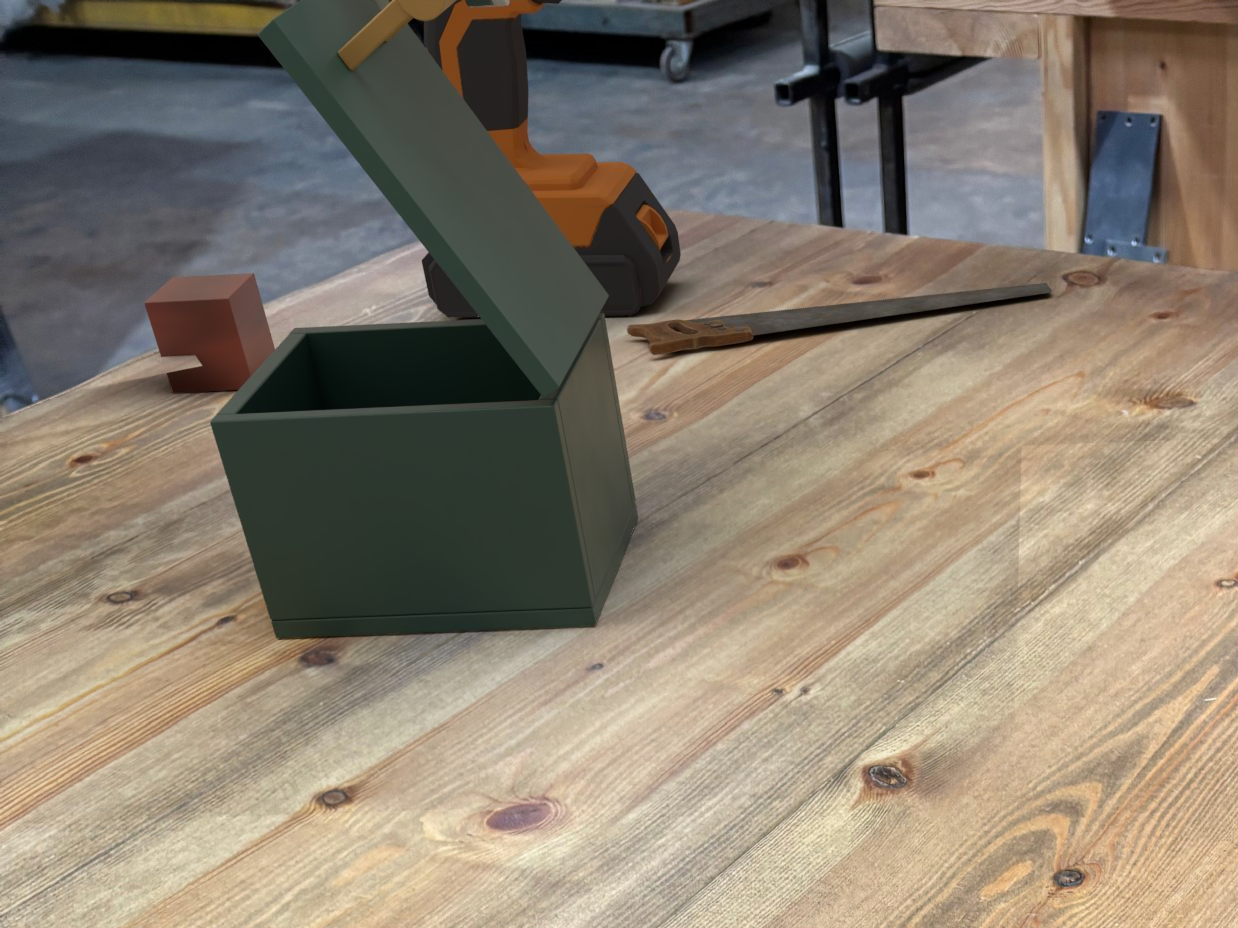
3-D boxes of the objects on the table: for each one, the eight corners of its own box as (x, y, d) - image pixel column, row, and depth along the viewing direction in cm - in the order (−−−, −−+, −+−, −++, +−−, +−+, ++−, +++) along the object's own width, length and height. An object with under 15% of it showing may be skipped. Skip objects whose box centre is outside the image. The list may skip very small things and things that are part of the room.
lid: (256, 34, 67) (371, -77, 64) (346, -27, 75) (450, -127, 73) (544, 399, 75) (655, 311, 72) (595, 306, 83) (696, 225, 81)
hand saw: (1030, 275, 114) (1030, 262, 113) (1057, 296, 110) (1057, 283, 110) (626, 335, 109) (624, 322, 109) (641, 358, 106) (639, 345, 105)
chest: (275, 639, 81) (208, 421, 75) (348, 531, 90) (293, 327, 84) (596, 626, 81) (553, 405, 75) (638, 518, 89) (604, 312, 83)
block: (172, 393, 106) (143, 302, 103) (199, 365, 110) (172, 277, 106) (254, 389, 106) (228, 298, 103) (279, 362, 109) (254, 272, 106)
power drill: (787, 275, 116) (731, -256, 99) (766, 314, 111) (703, -241, 94) (440, 285, 119) (327, -232, 102) (403, 324, 113) (277, -216, 96)
